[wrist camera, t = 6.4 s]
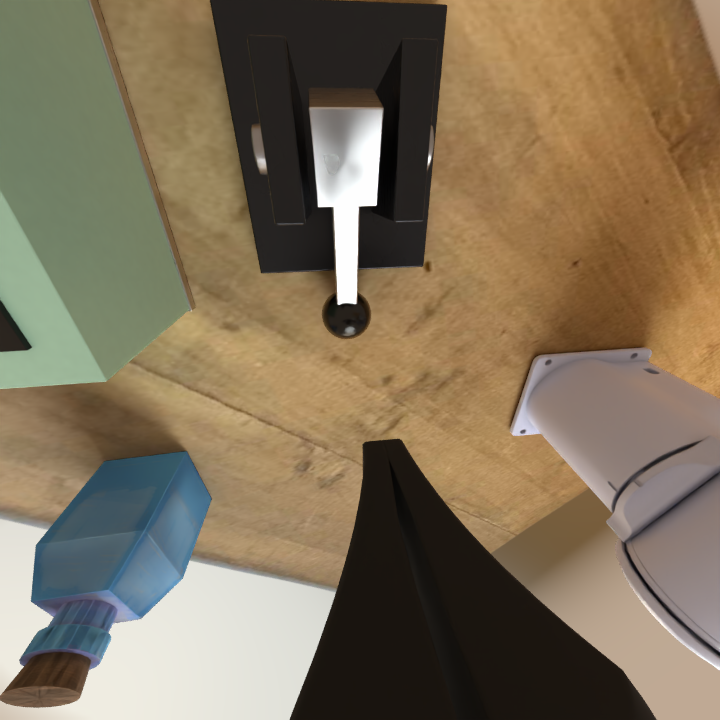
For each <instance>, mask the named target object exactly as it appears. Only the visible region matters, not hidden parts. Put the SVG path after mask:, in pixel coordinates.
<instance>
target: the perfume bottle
mask: <svg viewBox="0 0 720 720" xmlns="http://www.w3.org/2000/svg"><path fill="white" fill-rule="evenodd" d="M211 500H212V499H211V497H210V495H209V493H208V491H207V489H206V487H205V485H204V484H203V482H202V480H201V478H200V476H199V474H198V472H197V470H196V468H195V466H194V464H193V462H192V461H191V459H190V457H189V455H188V453H187V451H184V452H176V453H168V454H160V455H152V456H143V457H135V458H127V459H119V460H110V461H104V462H103V464H102V465H101V466H100V467H99V469H98V470H97V471H96V472H95V473H94V475H93V476H92V477H91V478H90V480H89V481H88V482H87V483H86V484H85V486H84V487H83V488H82V489H81V491H80V492H79V493H78V494H77V495H76V497H75V498H74V499H73V500H72V502H71V503H70V504H69V505H68V507H67V508H66V509H65V510H64V511H63V513H62V514H61V515H60V516H59V518H58V519H57V520H56V521H55V522H54V524H53V525H52V526H51V527H50V529H49V530H48V531H47V532H46V534H45V535H44V536H43V537H42V538H41V540H40V541H39V542H38V543H37V545H36V551H35V561H34V573H33V584H32V596H31V602H33V603H34V604H35V605H37V606H38V607H40V608H41V609H43V610H44V611H46V612H47V613H49V614H50V615H52V616H53V617H54V618H53V620H52V621H51V623H50V624H49V626H48V627H46V628H44V629H42V630H40V631H38V633H37V634H36V635H35V637H34V638H33V640H32V641H31V643H30V644H29V646H28V647H27V649H26V651H25V652H24V654H23V655H22V657H21V658H20V660H19V661H20V664H21V665H23V666H24V667H23V669H22V670H21V671H20V672H19V674H18V675H17V676H16V677H15V678H14V680H13V681H12V682H11V683H10V684H9V686H8V687H7V688H6V689H5V691H4V692H3V693H2V694H1V695H0V700H1V701H2V702H4V703H6V704H10V705H14V706H21V707H52V706H61V705H65V704H70V703H72V702H75V701H77V700H78V699H79V698H80V696H81V693H82V690H83V687H84V684H85V680H86V677H87V674H88V671H89V670H90V669H92V668H95V667H96V666H97V665H99V664H100V662H101V660H102V658H103V655H104V653H105V651H106V649H107V647H108V645H109V643H110V641H111V636H110V634H109V633H108V632H109V630H110V628H111V626H112V624H113V623H119V622H125V621H132V620H138V619H141V618H142V617H143V616H144V615H145V614H146V613H148V612H149V611H150V610H151V609H152V608H153V607H154V606H155V605H156V604H157V603H158V602H159V601H160V600H161V599H162V598H163V597H164V596H165V595H166V594H167V593H168V592H169V591H170V590H171V589H172V588H173V587H174V586H175V585H176V584H177V583H178V582H179V581H181V579H183V576H184V573H185V571H186V568H187V565H188V562H189V560H190V557H191V554H192V552H193V549H194V546H195V543H196V541H197V538H198V535H199V532H200V530H201V527H202V524H203V521H204V519H205V516H206V513H207V511H208V508H209V505H210V502H211Z"/></svg>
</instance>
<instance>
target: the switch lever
mask: <svg viewBox="0 0 720 720" xmlns="http://www.w3.org/2000/svg"><path fill="white" fill-rule="evenodd" d="M308 111H309V122H310V133H311V144H312V155H313V166H314V177H315V188H316V200H317V207H331V209H332V228H333V248H334V268H335V287H336V292H335V293H333V294H332V295H331V296H330V297H329V298H328V299H327V300H326V302H325V304H324V306H323V310H322V318H323V322H324V325H325V327H326V328H327V330H328V331H329V332H330V333H331V334H333V335H334V336H336V337H338V338H341V339H352V338H355V337H358V336H359V335H361V334H362V333H363V332H364V331H365V330H366V329H367V327H368V325H369V323H370V320H371V310H370V306H369V304H368V302H367V300H366V299H365V298H364V297H363V296H362V295H361V294H360V293H358V260H359V223H360V206H377V201H378V187H379V173H380V160H381V146H382V133H383V119H384V107H383V106H382V104H381V102H380V100H379V98H378V96H377V95H376V93H375V91H374V89H373V88H314V87H310V88H309V89H308Z"/></svg>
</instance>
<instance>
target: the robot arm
mask: <svg viewBox="0 0 720 720" xmlns="http://www.w3.org/2000/svg"><path fill="white" fill-rule="evenodd" d="M651 354H652V351H651V350H650V349H648V348H645V347H644V348H630V349H616V350H602V351H588V352H574V353H560V354H546V355H539V356H537V357H535V358H534V360H533V363H532V366H531V369H530V372H529V375H528V378H527V381H526V384H525V386H524V389H523V392H522V395H521V398H520V401H519V404H518V407H517V410H516V413H515V416H514V419H513V422H512V425H511V428H510V432H511V434H512V435H514V436H520V435H530V434H542V435H543V436H544V438H545V439H546V440H547V441H548V442H549V443H550V444H551V445H552V446H553V448H554V449H555V450H556V451H557V452H558V453H559V454H560V455H561V456H562V458H563V459H564V460H565V461H566V462H567V463H568V464H569V465H570V466H571V467H572V469H573V470H574V471H575V472H576V473H577V474H578V475H579V476H580V477H581V479H582V480H583V481H584V482H585V483H586V484H587V485H588V486H589V487H590V489H592V491H593V492H594V493H595V494H596V495H597V496H598V497H599V499H600V500H601V501H602V502H603V503H604V504H605V505H606V506H607V507H608V508H609V509H610V511H611V512H612V513H613V514H612V516H611V517H610V518H609V519H608V520H607V521H606V523H607V524H608V525H609V526H610V527H611V528H612V530H613V531H614V532H615V533H616V534H617V535H618V537H619V538H618V540H617V541H616V544H615V551H616V556H617V559H618V561H619V564H620V566H621V568H622V571H623V573H624V575H625V578H626V579H627V581H628V583H629V585H630V586H631V588H632V589H633V591H634V592H635V594H636V595H637V597H638V598H639V599H640V601H641V602H642V603H643V604H644V606H645V607H646V608H647V609H648V610H649V612H650V613H651V614H652V615H653V616H654V617H655V618H656V619H657V620H658V621H659V623H660V624H661V625H662V626H663V627H664V628H665V629H666V630H668V631H669V632H670V633H671V634H672V635H673V636H674V637H675V638H676V639H677V640H678V641H680V642H681V643H682V644H684V646H686V647H687V648H688V649H690V650H691V651H692V652H694V653H695V654H696V655H698V656H699V657H701V658H702V659H704V660H705V661H707V662H709V663H710V664H711V665H713V666H714V667H715V668H717V669H718V670H720V399H719V398H717V397H715V396H713V395H711V394H709V393H707V392H705V391H703V390H702V389H700V388H698V387H696V386H694V385H692V384H690V383H688V382H686V381H684V380H682V379H680V378H678V377H677V376H675V375H673V374H671V373H669V372H667V371H665V370H663V369H661V368H659V367H657V366H655V365H653V364H652V363H650V362H648V360H649V358H650V356H651ZM547 360H548V361H547ZM546 361H547V362H546ZM290 720H656V718H655V717H654V715H653V713H652V712H651V710H650V708H649V707H648V706H647V704H646V702H645V701H644V700H643V698H642V697H641V695H640V694H639V692H638V691H637V690H636V688H635V687H634V686H633V684H632V683H631V681H630V680H629V679H628V677H627V676H626V674H625V673H624V671H623V670H622V669H620V668H619V667H618V666H617V665H616V664H614V663H613V662H612V661H611V660H609V659H608V658H607V657H606V656H604V655H603V654H602V653H601V652H599V651H598V650H597V649H596V648H595V647H593V646H592V645H591V644H590V643H588V642H587V641H586V640H585V639H584V638H582V637H581V636H580V635H579V634H578V633H576V632H575V631H574V630H573V629H572V628H570V627H569V626H568V625H567V624H566V623H565V622H563V621H562V620H561V619H560V618H559V617H558V616H556V615H555V614H554V613H553V612H552V611H551V610H550V609H548V608H547V607H546V606H545V605H544V604H543V603H542V602H540V601H539V600H538V599H537V598H536V597H535V596H534V595H533V594H532V593H531V592H530V591H529V590H527V589H526V588H525V587H524V586H523V585H522V584H521V583H520V582H519V581H518V580H517V579H516V578H515V577H514V576H513V575H511V574H510V573H509V572H508V571H507V570H506V569H505V568H504V567H503V566H502V565H501V564H500V563H499V562H498V561H497V560H496V559H495V558H494V557H493V556H492V555H491V554H490V553H489V552H488V551H487V550H486V549H485V548H484V547H483V546H482V545H481V544H480V542H479V541H478V540H477V539H476V538H475V537H474V536H473V535H472V534H471V533H470V532H469V531H468V529H467V528H466V527H465V526H464V525H463V524H462V523H461V521H460V520H459V519H458V518H457V517H456V516H455V514H454V513H453V512H452V511H451V510H450V508H449V507H448V506H447V505H446V504H445V502H444V501H443V500H442V498H441V497H440V496H439V495H438V493H437V492H436V491H435V489H434V488H433V487H432V485H431V484H430V483H429V481H428V480H427V479H426V477H425V476H424V474H423V473H422V472H421V470H420V469H419V467H418V466H417V464H416V463H415V461H414V460H413V458H412V457H411V455H410V453H409V452H408V450H407V449H406V447H405V445H404V443H403V442H402V440H400V439H391V440H380V441H369V442H365V443H364V444H363V480H362V487H361V494H360V501H359V506H358V511H357V516H356V521H355V526H354V530H353V534H352V538H351V542H350V546H349V550H348V554H347V557H346V561H345V565H344V568H343V571H342V575H341V578H340V581H339V585H338V588H337V591H336V594H335V598H334V601H333V604H332V607H331V610H330V613H329V616H328V619H327V621H326V624H325V627H324V630H323V633H322V636H321V639H320V641H319V644H318V647H317V650H316V653H315V655H314V658H313V661H312V663H311V666H310V668H309V671H308V673H307V676H306V679H305V681H304V684H303V686H302V689H301V691H300V694H299V697H298V699H297V702H296V704H295V707H294V710H293V712H292V715H291V717H290Z"/></svg>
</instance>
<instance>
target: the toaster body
mask: <svg viewBox="0 0 720 720" xmlns="http://www.w3.org/2000/svg"><path fill="white" fill-rule="evenodd" d="M193 309H195V304H194V301H193V298H192V295H191V292H190V288H189V285H188V282H187V279H186V276H185V273H184V270H183V267H182V263H181V260H180V257H179V254H178V251H177V248H176V245H175V242H174V238H173V235H172V232H171V229H170V226H169V223H168V220H167V217H166V213H165V210H164V207H163V204H162V201H161V198H160V195H159V192H158V188H157V185H156V182H155V179H154V176H153V173H152V170H151V166H150V163H149V160H148V157H147V154H146V151H145V148H144V145H143V141H142V138H141V135H140V132H139V129H138V126H137V123H136V120H135V116H134V113H133V110H132V107H131V104H130V101H129V98H128V95H127V91H126V88H125V85H124V82H123V79H122V76H121V73H120V70H119V66H118V63H117V60H116V57H115V54H114V51H113V48H112V45H111V41H110V38H109V35H108V32H107V29H106V26H105V23H104V20H103V16H102V13H101V10H100V7H99V4H98V1H97V0H0V389H7V388H21V387H35V386H49V385H64V384H78V383H92V382H105V381H107V380H109V379H110V378H111V377H112V376H113V375H114V374H116V373H117V372H118V371H119V370H120V369H121V368H122V367H124V366H125V365H126V364H127V363H128V362H129V361H131V360H132V359H133V358H134V357H135V356H136V355H137V354H139V353H140V352H141V351H142V350H143V349H144V348H146V347H147V346H148V345H149V344H150V343H151V342H152V341H154V340H155V339H156V338H157V337H158V336H159V335H161V334H162V333H163V332H164V331H165V330H166V329H167V328H169V327H170V326H171V325H172V324H173V323H174V322H176V321H177V320H178V319H179V318H180V317H181V316H182V315H184V314H185V313H186V312H187V311H192V310H193Z"/></svg>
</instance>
